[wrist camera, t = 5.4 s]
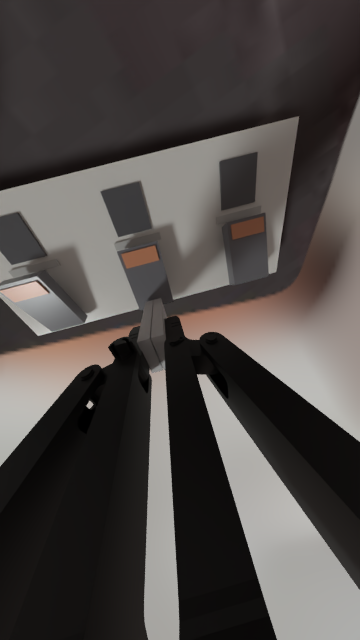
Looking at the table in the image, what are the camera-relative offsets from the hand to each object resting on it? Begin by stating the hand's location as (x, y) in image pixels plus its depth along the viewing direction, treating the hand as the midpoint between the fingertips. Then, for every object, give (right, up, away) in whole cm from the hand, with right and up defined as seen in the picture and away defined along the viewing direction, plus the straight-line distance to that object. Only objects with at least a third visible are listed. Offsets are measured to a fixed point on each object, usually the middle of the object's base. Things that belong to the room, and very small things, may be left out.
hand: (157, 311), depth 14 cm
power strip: (-6, +7, +3) cm, 10 cm away
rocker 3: (+9, +6, -1) cm, 11 cm away
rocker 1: (-10, +1, -1) cm, 10 cm away
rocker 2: (-1, +3, -1) cm, 3 cm away
